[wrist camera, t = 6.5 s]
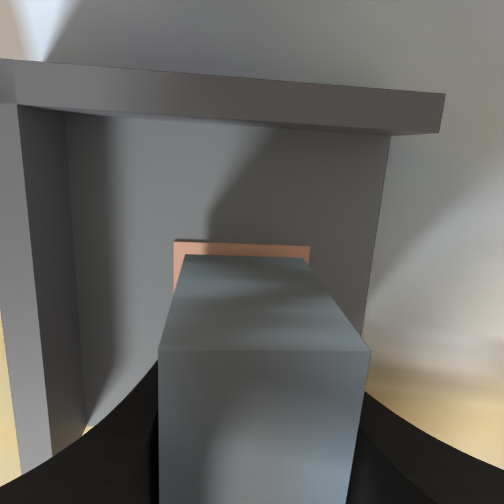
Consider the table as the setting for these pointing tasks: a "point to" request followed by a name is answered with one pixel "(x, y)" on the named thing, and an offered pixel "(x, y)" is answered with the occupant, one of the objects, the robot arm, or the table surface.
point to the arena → (167, 213)
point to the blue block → (257, 385)
